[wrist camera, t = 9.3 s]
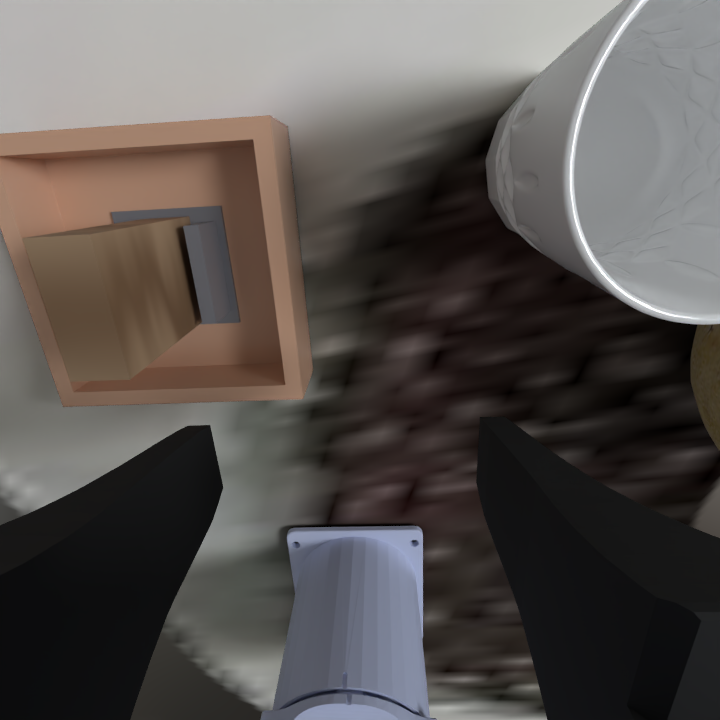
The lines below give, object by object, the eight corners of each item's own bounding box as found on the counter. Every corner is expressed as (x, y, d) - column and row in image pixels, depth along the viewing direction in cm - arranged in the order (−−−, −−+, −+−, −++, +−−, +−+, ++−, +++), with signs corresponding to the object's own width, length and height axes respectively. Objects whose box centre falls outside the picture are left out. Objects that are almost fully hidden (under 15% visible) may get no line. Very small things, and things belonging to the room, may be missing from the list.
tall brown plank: (208, 317, 20) (130, 379, 14) (167, 318, 21) (70, 381, 14) (189, 216, 19) (90, 234, 12) (144, 218, 19) (22, 238, 12)
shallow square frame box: (313, 370, 22) (303, 399, 19) (104, 377, 23) (63, 406, 20) (287, 126, 18) (270, 115, 15) (33, 143, 19) (-32, 135, 16)
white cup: (435, 205, 19) (490, 227, 10) (544, 6, 16) (767, -229, 7) (582, 288, 20) (758, 378, 11) (708, 115, 17) (1088, 38, 8)
